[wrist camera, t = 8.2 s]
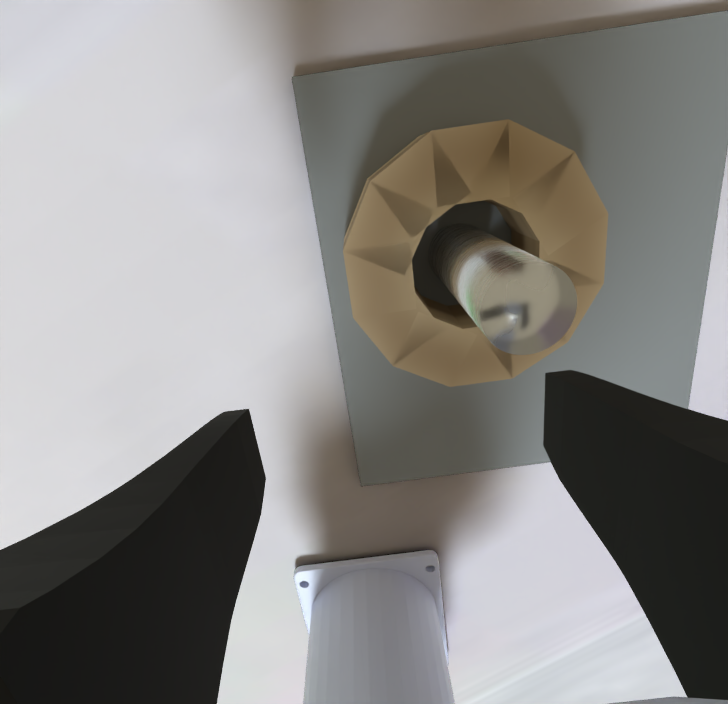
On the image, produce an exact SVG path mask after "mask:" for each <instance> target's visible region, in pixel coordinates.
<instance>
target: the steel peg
mask: <svg viewBox="0 0 728 704" xmlns="http://www.w3.org/2000/svg"><path fill="white" fill-rule="evenodd" d="M429 262H430V265H431V267H432V269H433V271H434V272H435V273H436V275H437V276H438V277H439V278H440V280H441V281H442V282H443V283H444V285H445V286H446V287H447V288H448V290H449V291H450V292H451V293H452V295H453V296H454V297H455V298H456V300H457V301H458V302H459V303H460V305H461V306H462V307H463V308H464V310H465V311H466V312H467V313H468V315H469V316H470V317H471V319H472V320H473V321H474V322H475V324H476V325H477V326H478V327H479V329H480V330H481V331H482V332H483V334H484V335H485V336H486V337H487V339H488V340H489V341H490V342H491V343H492V344H493V345H494V346H495V347H497V348H498V349H500V350H502V351H504V352H506V353H510V354H515V355H529V354H534V353H538V352H540V351H543V350H545V349H547V348H549V347H551V346H552V345H554V344H555V343H556V342H557V341H559V340H560V339H561V338H562V337H563V336H564V335H565V333H566V332H567V331H568V329H569V328H570V326H571V324H572V322H573V320H574V317H575V314H576V309H577V294H576V290H575V287H574V285H573V283H572V281H571V279H570V278H569V277H568V275H567V274H566V273H565V272H564V271H562V270H561V269H559V268H558V267H556V266H554V265H552V264H550V263H548V262H546V261H544V260H542V259H540V258H538V257H536V256H534V255H532V254H530V253H527V252H525V251H523V250H521V249H519V248H517V247H515V246H513V245H511V244H509V243H507V242H505V241H503V240H501V239H499V238H497V237H495V236H493V235H491V234H489V233H487V232H484V231H482V230H480V229H478V228H476V227H474V226H472V225H470V224H466V223H454V224H451V225H448V226H446V227H444V228H443V229H441V230H440V231H439V232H438V233H437V234H436V235H435V237H434V238H433V240H432V242H431V245H430V248H429Z"/></svg>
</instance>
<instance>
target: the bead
mask: <svg viewBox="0 0 728 704" xmlns="http://www.w3.org/2000/svg"><path fill="white" fill-rule="evenodd" d="M483 200H484V201H486V202H488V203H490V204H493V205H495V206H496V207H497V209H498V210H499V212H500V213H501V215H502V216H503V218H504V220H505V221H506V223H507V224H508V226H509V228H510V229H511V245H513V246H515V247H517V248H519V249H521V250H523V251H525V252H527V253H530V254H532V255H534V256H536V257H538V258H540V259H542V260H544V261H546V262H548V263H550V264H552V265H554V266H556V267H558V268H559V269H561V270H562V271H564V272H565V273H566V274H567V275H568V277H569V278H570V279H571V281H572V283H573V285H574V287H575V290H576V294H577V309H576V314H575V317H574V320H573V322H572V324H571V326H570V328H569V329H568V331H567V332H566V333H565V335H564V336H563V337H562V338H561V339H560V340H559V341H557V342H556V343H555V344H554V345H552V346H551V347H549V348H547V349H545V350H543V351H540V352H538V353H534V354H529V355H515V354H510V353H506V352H504V351H502V350H500V349H498V348H497V347H495V346H494V345H493V344H492V343H491V342H490V341H489V340H488V339H487V337H486V336H485V335H484V334H483V332H482V331H481V330H480V329H479V327H478V326H477V325H476V324H475V322H474V321H473V320H472V319H471V317H470V316H469V315H468V313H467V312H466V311H465V310H464V308H463V307H462V306H461V305H460V304H456V305H449V306H446V305H444V304H441V303H439V302H436V301H434V300H431V299H429V298H426V297H424V296H422V295H421V294H420V293H419V291H418V290H417V289H416V287H415V286H414V278H413V267H412V258H413V256H414V254H415V251H416V249H417V247H418V245H419V242H420V240H421V238H422V236H423V233H424V231H425V229H426V227H427V226H428V225H430V224H431V223H432V222H433V221H435V220H436V219H437V218H439V217H440V216H441V215H442V214H444V213H445V212H446V211H448V210H449V209H450V208H452V207H453V206H454V205H455V204H462V203H469V202H476V201H483ZM607 227H608V212H607V210H606V208H605V206H604V205H603V203H602V201H601V199H600V197H599V195H598V193H597V192H596V190H595V188H594V186H593V184H592V182H591V181H590V179H589V177H588V175H587V173H586V171H585V169H584V168H583V166H582V164H581V162H580V160H579V158H578V157H577V155H576V153H575V152H574V151H573V150H571V149H569V148H567V147H565V146H563V145H561V144H559V143H556V142H554V141H552V140H550V139H548V138H546V137H544V136H542V135H540V134H538V133H536V132H534V131H532V130H530V129H528V128H526V127H524V126H522V125H520V124H518V123H516V122H513V121H511V120H509V119H507V120H500V121H493V122H487V123H480V124H473V125H466V126H460V127H453V128H446V129H439V130H433V131H430V132H427V133H425V134H423V135H420V136H418V137H417V138H416V139H415V140H413V141H412V142H411V143H410V144H408V145H407V146H406V147H405V148H404V149H402V150H401V151H400V152H399V153H398V154H396V155H395V156H394V157H393V158H392V159H390V160H389V161H388V162H387V163H385V164H384V165H383V166H382V167H381V168H379V169H378V170H377V171H376V172H375V173H373V174H372V175H371V176H370V177H369V178H367V180H366V183H365V185H364V188H363V191H362V193H361V196H360V198H359V201H358V204H357V206H356V209H355V211H354V214H353V217H352V219H351V222H350V224H349V227H348V230H347V232H346V235H345V237H344V246H343V254H344V261H345V268H346V274H347V281H348V287H349V294H350V301H351V307H352V314H353V318H354V320H355V321H356V322H357V323H358V324H359V326H360V327H361V328H362V329H363V330H364V332H365V333H366V334H367V335H368V337H369V338H370V339H371V340H372V341H373V343H374V344H375V345H376V346H377V347H378V349H379V350H380V351H381V352H382V353H383V355H384V356H385V357H386V358H387V360H388V361H389V362H390V363H391V364H392V366H394V367H397V368H400V369H403V370H405V371H408V372H411V373H413V374H416V375H419V376H422V377H424V378H427V379H430V380H432V381H435V382H438V383H441V384H443V385H446V386H449V387H453V386H461V385H468V384H476V383H483V382H491V381H498V380H506V379H512V378H514V377H516V376H517V375H519V374H520V373H522V372H523V371H525V370H526V369H528V368H529V367H531V366H532V365H534V364H535V363H537V362H539V361H540V360H542V359H543V358H545V357H546V356H548V355H549V354H551V353H552V352H554V351H555V350H557V349H558V348H560V347H561V346H563V345H564V344H566V343H568V341H569V340H570V338H571V336H572V335H573V333H574V331H575V330H576V328H577V327H578V325H579V323H580V322H581V320H582V318H583V317H584V315H585V313H586V312H587V310H588V308H589V307H590V305H591V304H592V302H593V300H594V299H595V297H596V295H597V294H598V292H599V290H600V289H601V287H602V286H603V284H604V273H605V258H606V242H607Z"/></svg>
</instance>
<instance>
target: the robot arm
mask: <svg viewBox="0 0 728 704" xmlns="http://www.w3.org/2000/svg"><path fill="white" fill-rule="evenodd" d="M543 446H544V448H545V450H546V453H547V455H548V457H549V459H550V461H551V463H552V465H553V467H554V469H555V471H556V473H557V475H558V477H559V479H560V481H561V482H562V484H563V485H564V487H565V488H566V490H567V491H568V493H569V494H570V496H571V497H572V499H573V500H574V502H575V503H576V505H577V506H578V508H579V509H580V511H581V512H582V513H583V515H584V516H585V518H586V519H587V521H588V522H589V524H590V525H591V527H592V528H593V529H594V531H595V532H596V534H597V535H598V537H599V538H600V540H601V541H602V543H603V544H604V545H605V547H606V548H607V550H608V551H609V553H610V554H611V556H612V557H613V559H614V560H615V562H616V563H617V565H618V567H619V568H620V570H621V571H622V573H623V575H624V576H625V578H626V580H627V581H628V583H629V585H630V587H631V589H632V591H633V592H634V594H635V596H636V598H637V600H638V602H639V603H640V605H641V607H642V609H643V611H644V613H645V614H646V616H647V618H648V620H649V622H650V624H651V626H652V628H653V629H654V631H655V633H656V635H657V637H658V639H659V641H660V643H661V645H662V647H663V649H664V651H665V653H666V655H667V657H668V659H669V661H670V662H671V664H672V666H673V668H674V670H675V672H676V674H677V676H678V678H679V680H680V683H681V685H682V687H683V689H684V691H685V693H686V695H687V697H688V698H686V697H666V698H657V699H648V700H638V701H629V702H619V703H610V704H728V421H726V420H723V419H719V418H715V417H712V416H708V415H705V414H702V413H698V412H695V411H692V410H689V409H686V408H682V407H679V406H676V405H673V404H670V403H667V402H664V401H661V400H658V399H655V398H653V397H650V396H647V395H644V394H641V393H639V392H636V391H633V390H630V389H628V388H625V387H622V386H619V385H617V384H614V383H611V382H608V381H606V380H603V379H600V378H597V377H594V376H591V375H588V374H585V373H582V372H578V371H574V370H565V371H557V372H549V373H545V400H544V435H543ZM265 480H266V477H265V473H264V469H263V465H262V461H261V457H260V453H259V449H258V444H257V440H256V436H255V432H254V428H253V424H252V420H251V416H250V412H249V409H244V410H235V411H227V412H223V413H221V414H220V415H218V416H217V417H215V418H214V419H212V420H211V421H210V422H208V423H207V424H205V425H204V426H203V427H202V428H200V429H199V430H198V431H196V432H195V433H194V434H193V435H191V436H190V437H189V438H187V439H186V440H185V441H183V442H182V443H181V444H180V445H178V446H177V447H176V448H174V449H173V450H172V451H170V452H169V453H168V454H166V455H165V456H164V457H162V458H161V459H159V460H158V461H157V462H155V463H154V464H152V465H151V466H150V467H148V468H147V469H145V470H144V471H143V472H141V473H140V474H138V475H137V476H135V477H134V478H133V479H131V480H130V481H128V482H127V483H125V484H124V485H122V486H120V487H119V488H117V489H116V490H114V491H113V492H111V493H109V494H108V495H106V496H104V497H103V498H101V499H99V500H97V501H96V502H94V503H92V504H91V505H89V506H87V507H86V508H84V509H82V510H80V511H78V512H77V513H75V514H73V515H71V516H69V517H67V518H65V519H63V520H61V521H59V522H57V523H55V524H53V525H51V526H49V527H47V528H45V529H43V530H41V531H40V532H38V533H36V534H34V535H32V536H30V537H28V538H26V539H23V540H21V541H19V542H17V543H15V544H13V545H10V546H8V547H6V548H4V549H2V550H0V704H217V698H218V692H219V686H220V680H221V673H222V667H223V662H224V656H225V651H226V645H227V640H228V634H229V629H230V624H231V619H232V615H233V611H234V607H235V603H236V599H237V595H238V592H239V589H240V585H241V582H242V578H243V575H244V571H245V568H246V565H247V561H248V558H249V554H250V551H251V548H252V544H253V541H254V537H255V533H256V530H257V526H258V523H259V519H260V515H261V510H262V503H263V496H264V488H265ZM429 565H432V566H430V567H428V566H429ZM294 581H295V585H296V589H297V593H298V596H299V600H300V604H301V608H302V612H303V615H304V619H305V623H306V627H307V630H308V634H309V643H308V654H307V666H306V677H305V688H304V700H303V704H455V701H454V696H453V690H452V685H451V680H450V675H449V670H448V665H449V661H448V650H447V640H446V630H445V620H444V610H443V599H442V589H441V579H440V569H439V560H438V555H437V553H436V552H435V551H432V550H425V551H417V552H409V553H401V554H393V555H385V556H377V557H369V558H361V559H353V560H344V561H336V562H328V563H320V564H312V565H304V566H299V567H297V568H296V569H295V571H294ZM303 581H307V582H303Z"/></svg>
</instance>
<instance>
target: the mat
mask: <svg viewBox="0 0 728 704" xmlns="http://www.w3.org/2000/svg"><path fill="white" fill-rule="evenodd" d="M292 83H293V88H294V94H295V100H296V106H297V112H298V118H299V124H300V130H301V136H302V141H303V147H304V153H305V159H306V165H307V171H308V177H309V183H310V189H311V194H312V200H313V206H314V212H315V218H316V224H317V230H318V236H319V241H320V247H321V253H322V259H323V265H324V271H325V277H326V283H327V289H328V294H329V300H330V306H331V312H332V318H333V324H334V330H335V336H336V341H337V347H338V353H339V359H340V365H341V371H342V377H343V383H344V389H345V394H346V400H347V406H348V412H349V418H350V424H351V430H352V436H353V442H354V447H355V453H356V459H357V465H358V471H359V477H360V483H361V486H368V485H376V484H384V483H392V482H400V481H407V480H415V479H423V478H431V477H439V476H446V475H454V474H462V473H470V472H477V471H485V470H493V469H501V468H509V467H516V466H524V465H532V464H540V463H548V462H551V461H550V459H549V457H548V455H547V453H546V450H545V448H544V446H543V435H544V400H545V373H549V372H557V371H565V370H574V371H578V372H582V373H585V374H588V375H591V376H594V377H597V378H600V379H603V380H606V381H608V382H611V383H614V384H617V385H619V386H622V387H625V388H628V389H630V390H633V391H636V392H639V393H641V394H644V395H647V396H650V397H653V398H655V399H658V400H661V401H664V402H667V403H670V404H673V405H676V406H679V407H682V408H686V409H688V405H689V399H690V392H691V386H692V379H693V372H694V366H695V359H696V353H697V346H698V339H699V333H700V326H701V320H702V313H703V306H704V300H705V293H706V287H707V280H708V274H709V267H710V260H711V254H712V247H713V241H714V234H715V227H716V221H717V214H718V208H719V201H720V194H721V188H722V181H723V175H724V168H725V161H726V155H727V148H728V10H727V11H721V12H714V13H708V14H701V15H694V16H688V17H681V18H675V19H668V20H662V21H655V22H649V23H642V24H635V25H629V26H622V27H616V28H609V29H603V30H596V31H589V32H583V33H576V34H570V35H563V36H557V37H550V38H544V39H537V40H530V41H524V42H517V43H511V44H504V45H498V46H491V47H485V48H478V49H471V50H465V51H458V52H452V53H445V54H439V55H432V56H426V57H419V58H412V59H406V60H399V61H393V62H386V63H380V64H373V65H367V66H360V67H353V68H347V69H340V70H334V71H327V72H321V73H314V74H308V75H301V76H294V77H292ZM507 119H509V120H511V121H513V122H516V123H518V124H520V125H522V126H524V127H526V128H528V129H530V130H532V131H534V132H536V133H538V134H540V135H542V136H544V137H546V138H548V139H550V140H552V141H554V142H556V143H559V144H561V145H563V146H565V147H567V148H569V149H571V150H573V151H574V152H575V153H576V155H577V157H578V158H579V160H580V162H581V164H582V166H583V168H584V169H585V171H586V173H587V175H588V177H589V179H590V181H591V182H592V184H593V186H594V188H595V190H596V192H597V193H598V195H599V197H600V199H601V201H602V203H603V205H604V206H605V208H606V210H607V212H608V227H607V242H606V258H605V273H604V284H603V286H602V287H601V289H600V290H599V292H598V294H597V295H596V297H595V299H594V300H593V302H592V304H591V305H590V307H589V308H588V310H587V312H586V313H585V315H584V317H583V318H582V320H581V322H580V323H579V325H578V327H577V328H576V330H575V331H574V333H573V335H572V336H571V338H570V340H569V341H568V343H566V344H564V345H563V346H561V347H560V348H558V349H557V350H555V351H554V352H552V353H551V354H549V355H548V356H546V357H545V358H543V359H542V360H540V361H539V362H537V363H535V364H534V365H532V366H531V367H529V368H528V369H526V370H525V371H523V372H522V373H520V374H519V375H517V376H516V377H514V378H512V379H506V380H498V381H491V382H483V383H476V384H468V385H461V386H453V387H449V386H446V385H443V384H441V383H438V382H435V381H432V380H430V379H427V378H424V377H422V376H419V375H416V374H413V373H411V372H408V371H405V370H403V369H400V368H397V367H394V366H392V364H391V363H390V362H389V361H388V360H387V358H386V357H385V356H384V355H383V353H382V352H381V351H380V350H379V349H378V347H377V346H376V345H375V344H374V343H373V341H372V340H371V339H370V338H369V337H368V335H367V334H366V333H365V332H364V330H363V329H362V328H361V327H360V326H359V324H358V323H357V322H356V321H355V320H354V318H353V314H352V307H351V301H350V294H349V287H348V281H347V274H346V268H345V261H344V254H343V246H344V237H345V235H346V232H347V230H348V227H349V224H350V222H351V219H352V217H353V214H354V211H355V209H356V206H357V204H358V201H359V198H360V196H361V193H362V191H363V188H364V185H365V183H366V180H367V178H369V177H370V176H371V175H372V174H373V173H375V172H376V171H377V170H378V169H379V168H381V167H382V166H383V165H384V164H385V163H387V162H388V161H389V160H390V159H392V158H393V157H394V156H395V155H396V154H398V153H399V152H400V151H401V150H402V149H404V148H405V147H406V146H407V145H408V144H410V143H411V142H412V141H413V140H415V139H416V138H417V137H418V136H420V135H423V134H425V133H427V132H430V131H433V130H439V129H446V128H453V127H460V126H466V125H473V124H480V123H487V122H493V121H500V120H507ZM454 223H466V224H470V225H472V226H474V227H476V228H478V229H480V230H482V231H484V232H487V233H489V234H491V235H493V236H495V237H497V238H499V239H501V240H503V241H505V242H507V243H509V244H511V229H510V228H509V226H508V224H507V223H506V221H505V220H504V218H503V216H502V215H501V213H500V212H499V210H498V209H497V207H496V206H495V205H493V204H490V203H488V202H486V201H484V200H483V201H476V202H469V203H462V204H455V205H454V206H453V207H452V208H450V209H449V210H448V211H446V212H445V213H444V214H442V215H441V216H440V217H439V218H437V219H436V220H435V221H433V222H432V223H431V224H430V225H428V226H427V227H426V229H425V231H424V233H423V236H422V238H421V240H420V242H419V245H418V247H417V249H416V251H415V254H414V256H413V258H412V267H413V278H414V286H415V287H416V289H417V290H418V291H419V293H420V294H421V295H422V296H424V297H426V298H429V299H431V300H434V301H436V302H439V303H441V304H444V305H446V306H449V305H456V304H460V303H459V302H458V301H457V300H456V298H455V297H454V296H453V295H452V293H451V292H450V291H449V290H448V288H447V287H446V286H445V285H444V283H443V282H442V281H441V280H440V278H439V277H438V276H437V275H436V273H435V272H434V271H433V269H432V267H431V265H430V262H429V248H430V245H431V242H432V240H433V238H434V237H435V235H436V234H437V233H438V232H439V231H440V230H441V229H443V228H444V227H446V226H448V225H451V224H454Z"/></svg>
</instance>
